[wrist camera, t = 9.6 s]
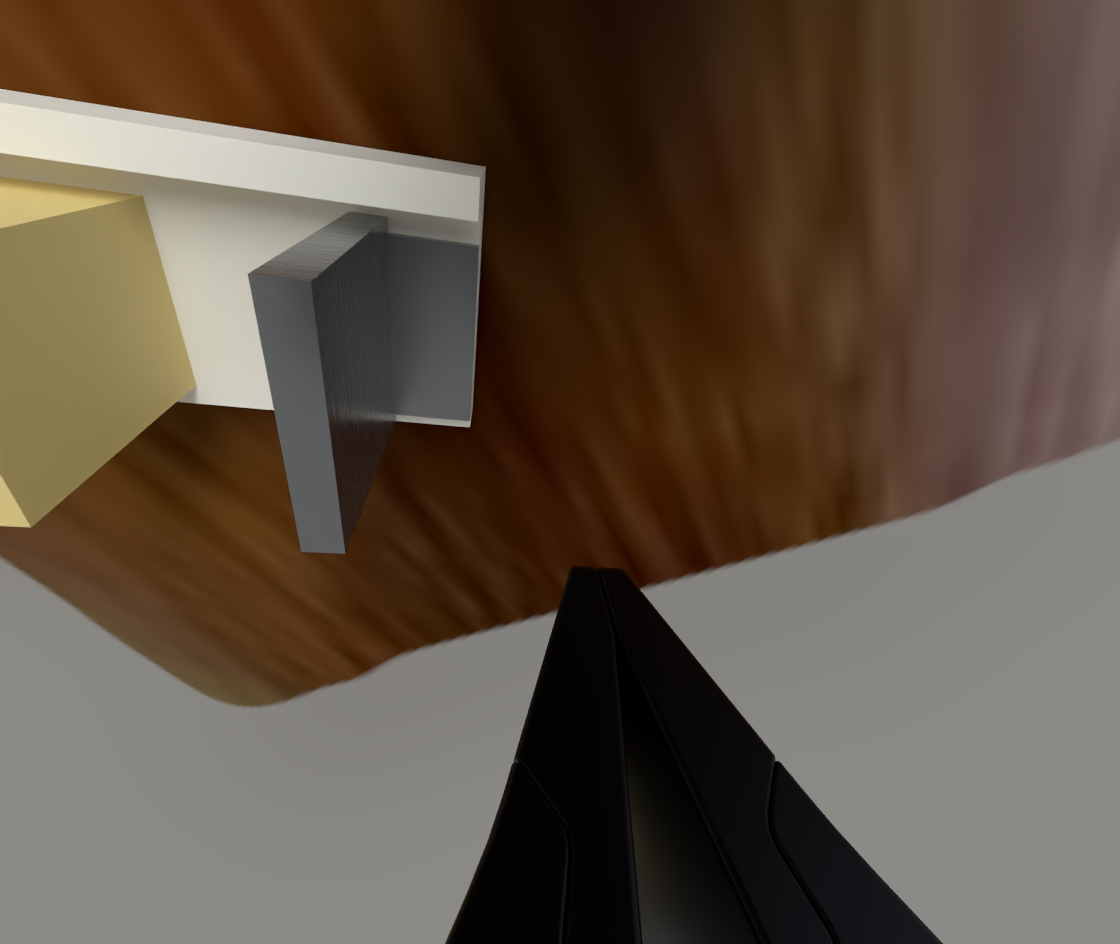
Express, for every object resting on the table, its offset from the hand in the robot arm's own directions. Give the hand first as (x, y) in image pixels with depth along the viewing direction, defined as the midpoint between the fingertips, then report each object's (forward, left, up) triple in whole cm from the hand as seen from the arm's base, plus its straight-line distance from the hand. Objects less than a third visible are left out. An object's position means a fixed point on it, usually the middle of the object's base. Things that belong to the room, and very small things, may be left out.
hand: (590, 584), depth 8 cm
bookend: (+4, 0, -10) cm, 11 cm away
